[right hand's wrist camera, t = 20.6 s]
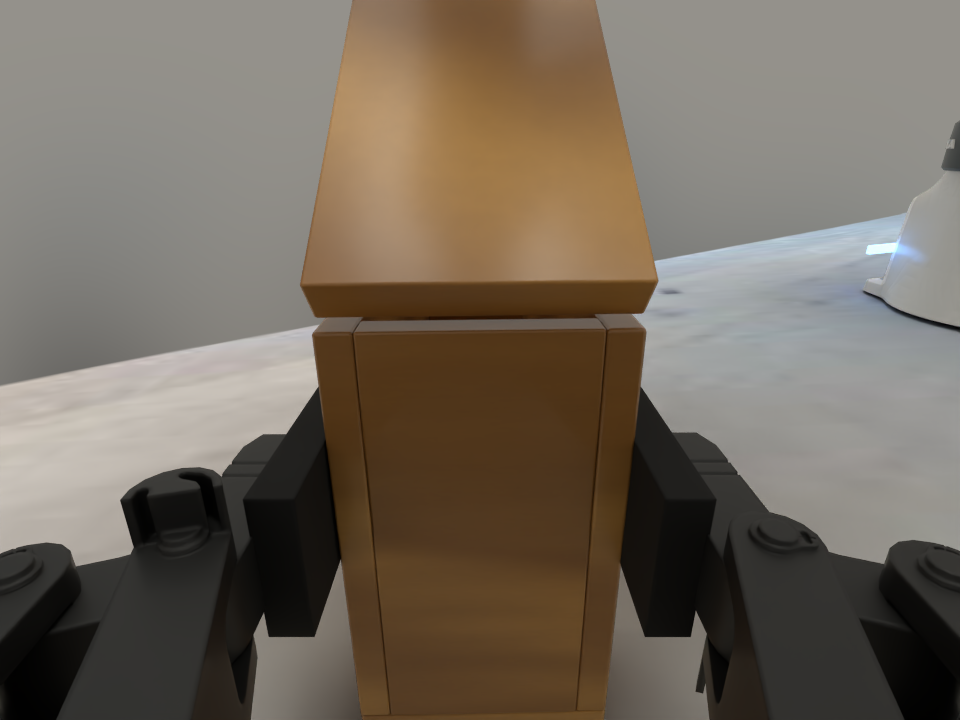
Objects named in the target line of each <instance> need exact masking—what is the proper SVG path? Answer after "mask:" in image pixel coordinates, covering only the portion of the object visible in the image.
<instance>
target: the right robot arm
mask: <svg viewBox="0 0 960 720" xmlns="http://www.w3.org/2000/svg"><path fill="white" fill-rule="evenodd" d="M120 501H121V505H122V508H123V512H124V515H125V518H126V522H127V525H128V529H129V532H130V536H131V539H132V543H133V546H134V548H133V550H132V553H131V555H127V556H123V557H120V558H115V559H110V560H105V561H101V562H96V563H91V564H86V565H82V566H77V567H76V566H75V563H74V560H73V557H72V554H71V551H70V550H69V549H67V548H66V547H65V546H63V545H62V544H54V543H40V544H33V545H26V546H22V547H18V548H16V549H12V550H9V551H6V552H3V553H1V554H0V720H251V711H252V702H253V693H254V684H255V675H256V666H257V652H256V645H255V640H254V635H253V634H254V632H255V630H256V628H257V626H258V624H259V621H260V619H261V617H262V615H263V613H264V614H265V620H266V625H267V630H268V635H269V637H315V634H316V631H317V628H318V625H319V622H320V619H321V616H322V613H323V610H324V607H325V604H326V601H327V598H328V595H329V592H330V589H331V586H332V583H333V580H334V577H335V574H336V571H337V568H338V566H339V563H340V560H341V555H340V548H339V540H338V532H337V524H336V517H335V509H334V501H333V493H332V486H331V478H330V470H329V462H328V455H327V447H326V439H325V431H324V424H323V416H322V408H321V400H320V393H319V387H318V388H317V390H316V391H315V393H314V394H313V396H312V397H311V399H310V400H309V401H308V403H307V404H306V406H305V407H304V409H303V410H302V412H301V413H300V415H299V416H298V418H297V419H296V421H295V422H294V424H293V425H292V427H291V428H290V430H289V431H288V433H287V434H263V435H262V436H260V437H258V438H257V439H255V440H254V441H252V442H251V443H249V444H247V445H246V446H244V447H243V448H242V450H241V451H240V452H239V453H238V455H237V456H236V457H235V458H234V460H233V461H232V465H229V466H228V467H227V469H226V470H225V471H224V472H223V474H222V477H221V476H220V475H219V474H217V473H216V472H215V471H213V470H210V469H205V468H200V467H197V468H181V469H176V470H172V471H167V472H163V473H160V474H158V475H155V476H153V477H150V478H148V479H145V480H144V481H142V482H141V483H139V484H137V485H136V486H134V487H133V488H131V489H130V490H129V491H128V492H127V493H126V494H125V495H124V496H123V498H122V499H121V500H120ZM620 564H621V567H622V570H623V573H624V576H625V579H626V582H627V585H628V588H629V591H630V594H631V597H632V600H633V603H634V606H635V609H636V612H637V615H638V618H639V621H640V624H641V627H642V630H643V633H644V636H645V637H691V632H692V627H693V622H694V617H695V611H697V614H698V616H699V618H700V620H701V622H702V624H703V626H704V628H705V631H706V633H707V635H706V640H705V645H704V650H703V655H702V660H701V665H700V670H699V675H698V679H697V686H696V692H700V693H703V691H704V686H705V683H706V692H707V701H708V710H709V718H710V720H960V551H958V550H956V549H953V548H950V547H948V546H947V547H945V546H944V545H940V544H936V543H931V542H924V541H916V540H910V541H902V542H898V543H896V544H895V545H893V546H892V547H891V548H890V549H889V552H888V555H887V558H886V561H885V564H880V563H875V562H871V561H866V560H861V559H856V558H851V557H847V556H842V555H838V554H834V553H830V552H828V549H827V547H826V546H825V544H824V543H823V542H822V540H821V539H820V538H819V536H818V535H817V534H815V533H814V532H813V531H811V530H810V529H809V528H807V527H806V526H805V525H803V524H801V523H799V522H797V521H795V520H792V519H790V518H788V517H786V516H782V515H778V514H774V513H770V512H769V511H768V510H767V509H766V507H765V506H764V505H763V504H762V502H761V501H760V500H759V499H758V497H757V496H756V495H755V494H754V492H753V491H752V490H751V488H750V487H749V486H748V485H747V483H746V482H745V481H744V480H743V478H742V477H741V476H740V475H738V474H737V471H736V470H735V468H734V467H733V466H732V465H731V463H728V460H727V458H726V457H725V456H724V454H723V453H722V452H721V451H720V449H719V448H718V447H717V446H716V445H715V444H713V443H712V442H710V441H709V440H707V439H706V438H704V437H702V436H701V435H699V434H698V433H672V432H671V431H670V429H669V428H668V426H667V425H666V423H665V422H664V420H663V419H662V417H661V416H660V414H659V413H658V411H657V410H656V408H655V407H654V405H653V404H652V402H651V401H650V400H649V398H648V397H647V395H646V394H645V392H644V391H643V389H642V388H641V386H640V395H639V405H638V414H637V423H636V432H635V440H634V448H633V457H632V466H631V475H630V484H629V493H628V501H627V510H626V518H625V527H624V535H623V543H622V552H621V560H620Z"/></svg>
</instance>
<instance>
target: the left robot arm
mask: <svg viewBox="0 0 960 720" xmlns="http://www.w3.org/2000/svg"><path fill="white" fill-rule="evenodd" d="M946 149H947V150H946V153H945V157H944V160H943V163H942V169H943V170H947V171H946V172H945V174H944V175H943V176H942V178H941V179H940V180H939V181H938V182H937V183H936V184H935V185H934V186H933V187H932V188H930V189H929V190H927V191H925V192H923V193H921V194H920V195H919V196H917V197H915V198H914V199H913V201H912V202H911V204H910V206H909V209H908V212H907V214H906V217H905V220H904V223H903V225H902V228H901V231H900V234H899V236H898V239H897V242H896V243H890V244H880V245H870V246H868V248H867V252H866V254H877V253H887V252H893V253H892V256H891V259H890V262H889V265H888V267H887V270H886V273H885V276H884V277H880V278H870V279H867V281H866V283H865V286H864V288H863V290H864V291H866V292H868V293H871V294H874V295H876V296H879V297H881V298H883V299H884V300H885V301H886V302H887V303H888V304H889V305H891V306H893V307H894V308H897V309H899V310H901V311H904V312H907V313H909V314H912V315H915V316H919V317H922V318H925V319H929V320H933V321H937V322H941V323H945V324H949V325H954V326H958V327H960V121H958V122H957V123H955V126H954V129H953V132H952V135H951V137H950V139H949V140H948V141H947V145H946Z"/></svg>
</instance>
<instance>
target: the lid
mask: <svg viewBox="0 0 960 720" xmlns="http://www.w3.org/2000/svg"><path fill="white" fill-rule="evenodd" d="M657 283H658V277H657V272H656V268H655V264H654V259H653V255H652V250H651V246H650V241H649V237H648V232H647V228H646V224H645V219H644V215H643V210H642V206H641V201H640V197H639V192H638V188H637V184H636V179H635V175H634V170H633V166H632V161H631V157H630V152H629V148H628V143H627V139H626V135H625V130H624V126H623V121H622V117H621V112H620V108H619V104H618V99H617V95H616V90H615V86H614V81H613V77H612V72H611V68H610V64H609V59H608V55H607V50H606V46H605V41H604V37H603V32H602V28H601V23H600V19H599V15H598V10H597V6H596V1H595V0H353V1H352V6H351V12H350V17H349V22H348V28H347V33H346V39H345V44H344V49H343V55H342V60H341V66H340V71H339V77H338V82H337V87H336V93H335V98H334V104H333V109H332V115H331V120H330V125H329V131H328V136H327V142H326V147H325V153H324V158H323V164H322V169H321V174H320V180H319V185H318V190H317V196H316V201H315V207H314V212H313V218H312V223H311V228H310V234H309V239H308V245H307V250H306V256H305V261H304V266H303V272H302V277H301V283H300V286H301V289H302V291H303V293H304V295H305V297H306V299H307V302H308V304H309V306H310V308H311V310H312V312H313V314H314V316H315V317H317V318H334V317H415V316H495V315H576V314H642V313H644V311H645V309H646V307H647V305H648V303H649V301H650V298H651V296H652V294H653V292H654V290H655V288H656V286H657Z"/></svg>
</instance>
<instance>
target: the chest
mask: <svg viewBox="0 0 960 720" xmlns="http://www.w3.org/2000/svg"><path fill="white" fill-rule="evenodd" d="M312 338H313V346H314V354H315V362H316V369H317V377H318V385H319V393H320V400H321V408H322V416H323V424H324V431H325V439H326V447H327V455H328V462H329V470H330V478H331V486H332V493H333V501H334V509H335V517H336V524H337V532H338V540H339V548H340V555H341V563H342V571H343V579H344V586H345V594H346V602H347V610H348V617H349V625H350V633H351V641H352V648H353V656H354V664H355V672H356V679H357V687H358V695H359V703H360V710H361V715H362V720H604V715H605V706H606V697H607V688H608V678H609V669H610V660H611V651H612V642H613V633H614V624H615V614H616V605H617V596H618V587H619V578H620V569H621V564H620V560H621V552H622V543H623V535H624V527H625V518H626V510H627V501H628V493H629V484H630V475H631V466H632V457H633V448H634V440H635V432H636V423H637V414H638V405H639V395H640V386H641V377H642V368H643V359H644V350H645V341H646V329H645V328H644V327H643V326H642V325H641V324H640V323H639V322H638V321H637V319H636V318H635V317H634V316H633V315H632V314H576V315H495V316H415V317H334V318H325V319H324V321H323V322H322V323H321V324H320V325H319V326H318V328H317V329H316V330H315V331H314V332H313V334H312Z"/></svg>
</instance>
